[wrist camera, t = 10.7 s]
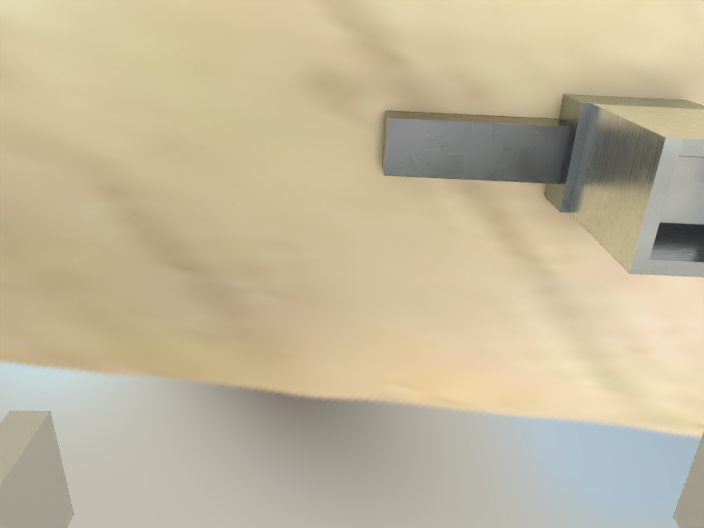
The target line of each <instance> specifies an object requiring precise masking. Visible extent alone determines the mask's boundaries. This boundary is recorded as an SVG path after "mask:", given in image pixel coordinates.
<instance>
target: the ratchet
mask: <svg viewBox="0 0 704 528" xmlns="http://www.w3.org/2000/svg"><path fill="white" fill-rule="evenodd" d="M592 104H609V105H629V106H649V107H669V108H689V109H704V106H702V105H699V104H696V103H693V102H690V101H687V100H669V99H649V98H629V97H609V96H589V95H569V94H564V96H563V101H562V107H561V112H560V117H559V119H545V118H525V117H504V116H484V115H464V114H444V113H424V112H404V111H386V118H385V132H384V146H383V161H382V167H383V174H384V175H386V176H407V177H427V178H448V179H469V180H490V181H511V182H531V183H547V185H546V191H545V197H546V198H547V199H548V200H549V201H550V202H551V203H552V204H553V205H554V206H555V207H556V208H557V209H558V210H559V212H570V208H571V203H572V199H573V194H574V189H575V184H576V180H577V175H578V170H579V166H580V161H581V156H582V151H583V147H584V142H585V137H586V133H587V128H588V123H589V118H590V114H591V109H592ZM660 222H663V223H685V224H704V157H695V156H678V159H677V162H676V166H675V170H674V173H673V177H672V180H671V184H670V187H669V191H668V194H667V198H666V202H665V205H664V209H663V212H662V216H661V219H660Z"/></svg>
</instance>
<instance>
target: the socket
mask: <svg viewBox="0 0 704 528" xmlns="http://www.w3.org/2000/svg"><path fill="white" fill-rule="evenodd" d="M678 156H695V157H704V109H689V108H669V107H649V106H629V105H609V104H592V109H591V114H590V118H589V123H588V128H587V133H586V137H585V142H584V147H583V151H582V156H581V161H580V166H579V170H578V175H577V180H576V184H575V189H574V194H573V199H572V203H571V208H570V214H571V215H572V216H573V217H574V218H575V219H576V220H577V221H578V222H579V223H580V224H581V225H582V226H583V227H584V228H585V229H586V230H587V231H588V232H589V233H590V234H591V235H592V236H593V237H594V238H595V239H596V240H597V241H598V242H599V243H600V244H601V245H602V246H603V247H604V248H605V249H606V250H607V251H608V252H609V253H610V254H611V255H612V257H613V258H614V259H615V260H616V261H617V262H618V263H619V264H620V265H621V266H622V267H623V268H624V269H625V270H626V271H627V272H628V273H629V274H647V275H669V276H691V277H704V224H685V223H663V222H660V219H661V216H662V212H663V209H664V205H665V202H666V198H667V194H668V191H669V187H670V184H671V180H672V177H673V173H674V170H675V166H676V162H677V159H678Z"/></svg>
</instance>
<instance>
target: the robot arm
mask: <svg viewBox="0 0 704 528" xmlns="http://www.w3.org/2000/svg"><path fill="white" fill-rule="evenodd" d="M73 514H74V513H73V509H72V504H71V500H70V495H69V491H68V487H67V482H66V478H65V474H64V469H63V465H62V460H61V456H60V452H59V447H58V443H57V438H56V434H55V430H54V425H53V421H52V416H51V412H50V411H10V412H9V413H8V415H7V416H6V417H5V418H4V420H3V421H2V422H1V424H0V528H67V527H68V525H69V522H70V520H71V519H72V516H73ZM673 518H674V520H675V521H676V523H677V524H678V526H679V527H680V528H704V433H703V435H702V438H701V441H700V444H699V447H698V449H697V452H696V455H695V457H694V460H693V463H692V466H691V469H690V471H689V474H688V477H687V479H686V482H685V485H684V488H683V490H682V493H681V496H680V499H679V501H678V504H677V507H676V510H675V512H674V515H673Z"/></svg>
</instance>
